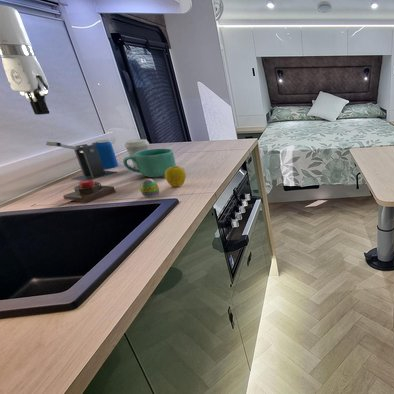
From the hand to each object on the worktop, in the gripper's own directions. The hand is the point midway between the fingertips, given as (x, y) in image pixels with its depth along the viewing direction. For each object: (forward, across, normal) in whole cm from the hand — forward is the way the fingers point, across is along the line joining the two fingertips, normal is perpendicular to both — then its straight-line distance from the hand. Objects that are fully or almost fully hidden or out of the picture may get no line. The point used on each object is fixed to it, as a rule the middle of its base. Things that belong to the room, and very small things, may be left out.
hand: (42, 113), depth 96 cm
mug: (+26, +21, +16) cm, 37 cm away
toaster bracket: (+25, 0, +9) cm, 27 cm away
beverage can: (+26, -7, +20) cm, 33 cm away
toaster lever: (+13, 0, +4) cm, 14 cm away
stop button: (+22, +20, -7) cm, 30 cm away
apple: (+26, +40, +8) cm, 48 cm away
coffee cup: (+26, +7, +24) cm, 35 cm away
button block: (+25, +20, -7) cm, 33 cm away
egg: (+26, +39, -2) cm, 47 cm away
